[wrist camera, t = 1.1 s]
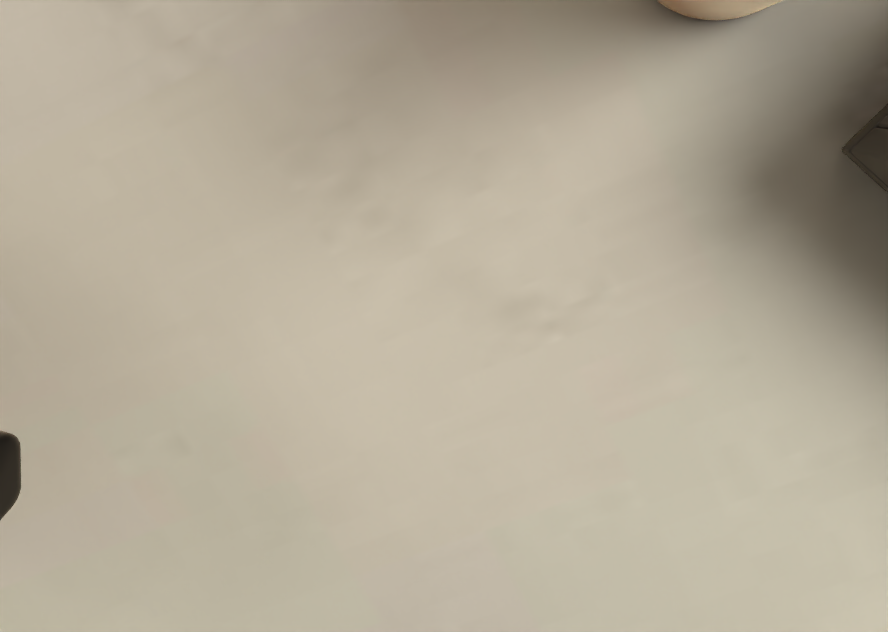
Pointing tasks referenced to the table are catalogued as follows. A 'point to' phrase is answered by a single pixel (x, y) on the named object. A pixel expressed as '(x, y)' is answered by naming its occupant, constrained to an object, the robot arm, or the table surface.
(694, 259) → the table surface
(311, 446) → the table surface
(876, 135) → the compartment tray
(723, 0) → the bottle
